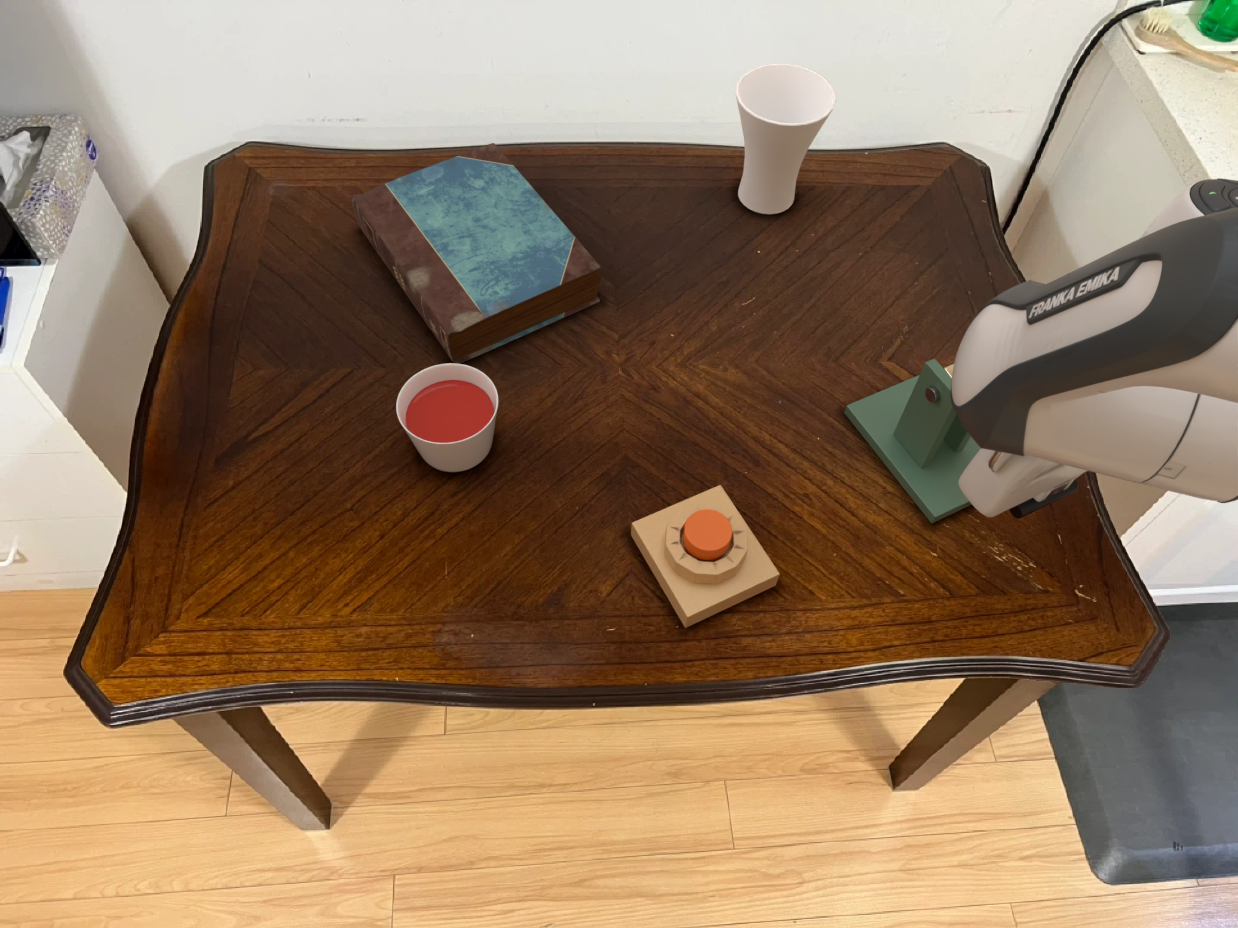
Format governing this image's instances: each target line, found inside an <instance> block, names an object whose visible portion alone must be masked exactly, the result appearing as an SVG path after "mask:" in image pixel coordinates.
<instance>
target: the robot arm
mask: <svg viewBox="0 0 1238 928" xmlns="http://www.w3.org/2000/svg"><path fill="white" fill-rule="evenodd" d="M1145 229H1146V230H1145V231H1144V232H1143V233H1142V234H1141V236H1140V237H1139V238H1138V239H1136V240H1134V241H1131V242H1129V243H1127V244H1125V245H1123V246H1122V247H1121V246H1120V247H1119V248H1117V249H1115V250H1113V251H1111V252H1109V253H1107V254H1105V255H1103V256H1101V257H1099V258H1097V259H1094V260H1093V261H1090V262H1088V263H1087V264H1084V265H1083V266H1080V267H1078V268H1077V269H1074V270H1073V271H1070V272H1068V273H1067V274H1064V275H1062V276H1059V277H1058V278H1056V279H1053V280H1052V281H1049V282H1048V283H1042V282H1039V281H1035V280H1032V279H1029V280H1026V281H1023V282H1022V283H1018V284H1016V285H1015V286H1012V287H1010V288H1008V289H1007V290H1004V291H1002V292H1001V293H998V295H996V296H995V297H993V298H992V299H990V300H989V301H987V302H986V303H985V304H984V305H982V307H981V308H980V309H979V311H978V312H977V313H976V315H975V316H974V317H973V320H972V321H971V323H970V324H969V326H968V327H967V329H966V331H965V333H964V335H963V337H962V339H961V342H960V344H959V346H958V349H957V351H956V355H955V358H954V362H953V364H954V367H953V373H952V381H951V391H950V397H951V404H952V406H953V408H954V410H955V412H956V414H957V416H958V418H959V419H960V421H961V423H962V424H963V426H964V427H965V429H966V430H967V431H968V433H969V434H970V436H971V437H972V438H973V439H974V441H975V442H976V443H977V444H978V445H979V447H980V448H981V449H980V450H979V451H978V453H977V454H976V455H975V456H974V458H973V459H972V460H971V462H970V463H969V465H968V466H967V467H966V469H965V470H964V472H963V473H962V475H961V476H960V478H959V481H958V484H959V487H960V489H961V491H962V492H963V494H964V495H965V496H966V498H967V499H968V500H969V501H970V503H971V504H972V505H971V506H973V507H974V509H976V511H978V512H979V513H980V514H982V515H983V516H984V517H985V518H993V517H996V516H998V515H1000V514H1002V513H1005V512H1006V511H1009V509H1010V508H1013V507H1015V506H1017V505H1019V504H1021V503H1023V502H1025V501H1027V500H1029V499H1031V498H1034V499H1035V500H1036V501H1037V502H1040V501H1042V500H1044V499H1047V498H1049V497H1050V496H1052V495H1054V494H1056V493H1058V492H1061V491H1063V490H1065V489H1067V488H1068V487H1069V486H1070V485H1071V483H1072V482H1073V481H1074V480H1075V479H1076V480H1077V479H1078V478H1079V477H1080V476H1081V475H1083V474H1085V473H1087V472H1090V473H1091V472H1092V473H1095V474H1099V475H1103V476H1107V477H1111V478H1115V479H1118V480H1122V481H1126V482H1131V483H1135V484H1139V485H1144V486H1148V487H1152V488H1155V489H1160V490H1163V491H1168V492H1172V493H1176V494H1179V495H1185V496H1188V497H1191V498H1196V499H1200V500H1206V501H1213V502H1217V503H1220V504H1228V503H1232V502H1236V501H1238V180H1236V179H1229V178H1221V177H1220V178H1211V179H1202V180H1199V181H1196V182H1194V183H1192V184H1190V185H1188V186H1187V187H1185V188H1184V189H1183V190H1182V191H1180V192H1179V193H1178V194H1177V195H1176V196H1175V197H1174V198H1173V199H1172V200H1170V202H1169V203H1168V204H1167V205H1166V206H1165V207H1164V208H1163V209H1162V211H1160V212H1159V214H1158V215H1157V216H1156V217H1155V218H1154V219H1153V221H1152V222H1151V223H1150V224H1149V225H1148V227H1147V228H1145Z"/></svg>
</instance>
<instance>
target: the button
mask: <svg viewBox="0 0 1238 928" xmlns="http://www.w3.org/2000/svg"><path fill="white" fill-rule="evenodd" d="M731 538H732V526H731V524H730V522H729V520H728V519H727V518H726V517H725V516H724V515H723V514H721V513H720V512H717V511H715V510H709V509H705V510H699V511H697V512H695V513H693V514H692V515H691V516H689V518H688V519H687V521H686V523H685V527H684V533H683V543H684V546H685V548H686V549H687V551H688V552H689V553H690V554H691V555H692V556H694V557H696V558H698V559H701V560H715V559H718V558H720V557H721V556H723V555H724V554H725V553H726V552H727V550H728V548H729V546H730V542H731Z"/></svg>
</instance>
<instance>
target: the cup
mask: <svg viewBox="0 0 1238 928" xmlns="http://www.w3.org/2000/svg"><path fill="white" fill-rule="evenodd" d="M735 99H736V103H737V108H738V113H739V119H740V124H741V129H742V136H743V143H744V160H743V170H742V175H741V179H740V182H739V186H738V190H737V197H738V200H739V201H740V202H741V204H742V205H743V206H744V207H746V208H747V209H749V210H751V211H752V212H754V213H758V214H762V215H776V214H780V213H783V212H785V211H786V210H787V211H788V210H789V208H790V207H791V206H792V205H793V204H794V201H795V196H796V195H795V194H796V186H797V180H798V176H799V172H800V168H801V166H802V163H803V161H804V159H805V156H806V155H807V152H808V150H809V149H810V147H811V145H812V143H813V142H814V140H815V139H816V137H817V135H818V133H819V132H820V130H821V128H822V127H824V124H825V122H826V121H827V120H828V119H829V116H830V115H831V114H832V112H833V110H834V108H835V105H836V102H837V99H836V92H835V90H834V88H833V85H832V84H831V83H830V82H829V81H828V80H827V79H826V78H825V77H824V76H822V75H820V74H818V73H817V72H815V71H813V70H811V69H809V68H806V67H804V66H800V65H796V64H790V63H771V64H764V65H761V66H756V67H754V68H751V69H750V70H748V71H746V72H745V73H744V74H743V75H742V76H741V77H740V78H739V79H738V81H737V83H736V85H735Z"/></svg>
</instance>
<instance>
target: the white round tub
mask: <svg viewBox="0 0 1238 928" xmlns="http://www.w3.org/2000/svg"><path fill="white" fill-rule="evenodd" d="M396 398H397V399H396V404H395V411H396V415H397V420H398V421H399V423H400V425H401V426H402V428H403V430H404V432H405V433H406V435H407V437H408V438H409V439H410V441H411V443H412V444H413V446H414V447H415V449H416V450H417V452H418V453H419V455H420V456H421V458H422V459H423V460H424V462H425V463H427V464H428V465H429V466H431V467H432V468H434V469H436V470H438V471H441V472H446V473H459V472H464V471H467V470H470V469H472V468H474V467H476V466H477V465H479V464H480V463H482V462H483V460H485V458H486V457H487V456H488V455H489V453H490V451H491V449H492V444H493V441H494V435H495V430H496V429H495V428H496V423H497V422H496V421H497V415H498V409H499V393H498V390H497V387H496V386H495V384H494V382H493V381H492V379H491V378H490V377H489V376H488V375H486V374H485V373H484V372H483V371H481V370H479V369H478V368H476V367H473V366H470V365H467V364H462V363H461V364H455V363H453V362H452V363H451V362H449V363H440V364H436V365H432V366H429V367H426V368H424V369H422V370H420V371H418V372H417V373H415V374H414V375H412V376H411V377H410V378H409V379H408V380H406V382H405V383H404V384H403V386H402V387H401V389H400V391H399V392H398V395H397V397H396Z"/></svg>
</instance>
